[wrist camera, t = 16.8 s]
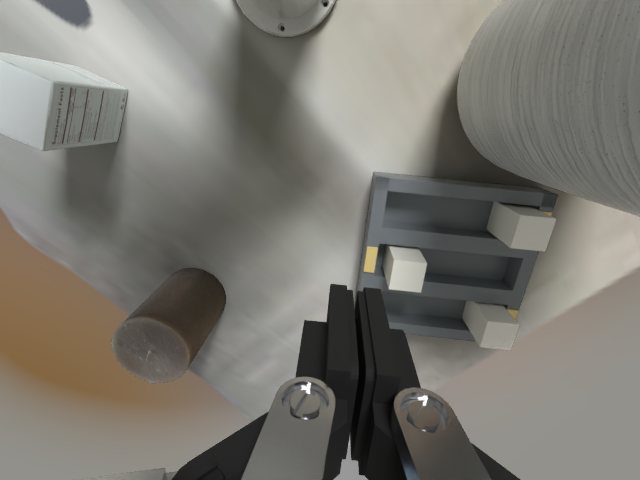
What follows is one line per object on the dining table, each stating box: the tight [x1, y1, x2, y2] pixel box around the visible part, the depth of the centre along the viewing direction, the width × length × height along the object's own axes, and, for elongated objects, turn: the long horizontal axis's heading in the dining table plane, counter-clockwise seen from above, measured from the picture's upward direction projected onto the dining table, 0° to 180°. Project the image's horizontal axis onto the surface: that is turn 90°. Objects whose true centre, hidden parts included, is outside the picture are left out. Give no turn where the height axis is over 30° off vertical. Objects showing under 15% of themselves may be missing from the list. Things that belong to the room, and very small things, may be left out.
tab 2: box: [486, 202, 556, 252], centre depth 42 cm, size 4×4×7 cm
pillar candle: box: [111, 268, 226, 383], centre depth 46 cm, size 10×10×15 cm
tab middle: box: [382, 244, 427, 293], centre depth 44 cm, size 4×4×7 cm
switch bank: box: [354, 172, 558, 341], centre depth 47 cm, size 22×22×4 cm
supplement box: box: [0, 52, 128, 151], centre depth 38 cm, size 7×7×13 cm
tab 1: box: [462, 301, 520, 351], centre depth 47 cm, size 4×4×7 cm
